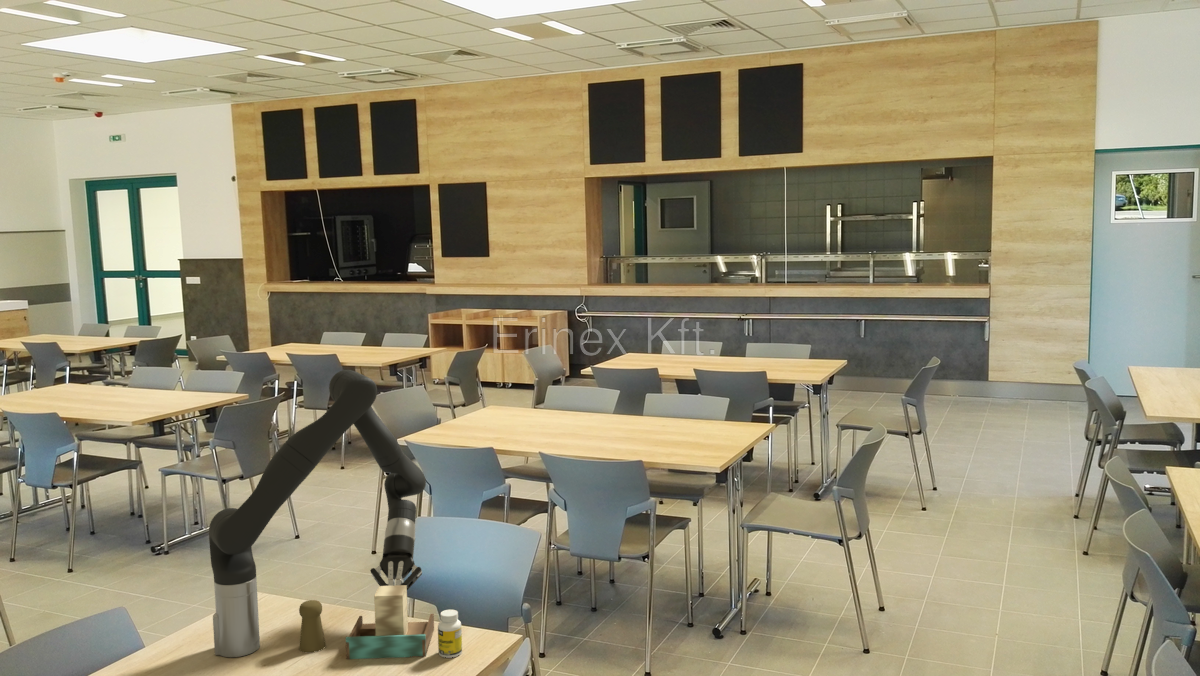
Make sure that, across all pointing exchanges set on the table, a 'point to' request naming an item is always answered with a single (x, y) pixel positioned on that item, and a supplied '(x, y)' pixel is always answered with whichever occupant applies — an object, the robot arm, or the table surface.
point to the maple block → (391, 610)
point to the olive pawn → (311, 627)
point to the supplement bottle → (449, 634)
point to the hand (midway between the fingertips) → (393, 605)
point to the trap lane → (389, 641)
